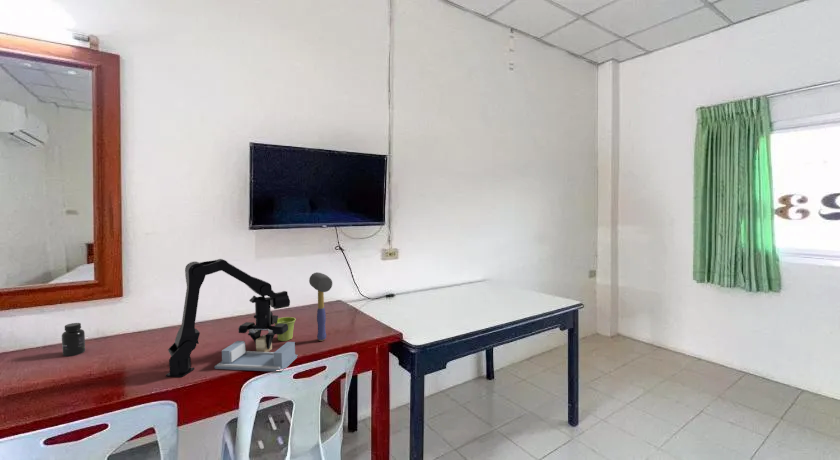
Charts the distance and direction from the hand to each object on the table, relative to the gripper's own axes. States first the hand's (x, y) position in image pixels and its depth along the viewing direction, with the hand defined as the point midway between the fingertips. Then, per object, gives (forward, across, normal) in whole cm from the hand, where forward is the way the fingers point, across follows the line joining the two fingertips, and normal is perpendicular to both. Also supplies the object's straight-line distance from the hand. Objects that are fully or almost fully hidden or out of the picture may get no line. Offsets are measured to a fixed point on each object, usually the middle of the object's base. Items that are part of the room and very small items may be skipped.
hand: (264, 348), depth 153 cm
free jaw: (0, +6, +11) cm, 12 cm away
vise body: (+1, -3, +10) cm, 11 cm away
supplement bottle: (+1, +76, +10) cm, 77 cm away
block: (+1, 0, 0) cm, 1 cm away
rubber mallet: (+1, -19, -14) cm, 24 cm away
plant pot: (+2, -2, -14) cm, 15 cm away
